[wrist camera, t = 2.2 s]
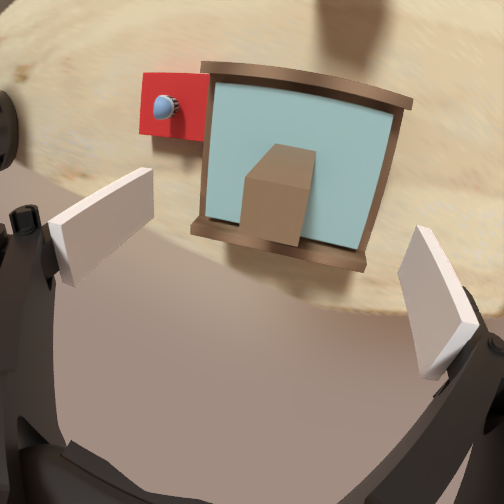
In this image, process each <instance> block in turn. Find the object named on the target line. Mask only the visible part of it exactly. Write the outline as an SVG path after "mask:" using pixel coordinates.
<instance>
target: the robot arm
mask: <svg viewBox="0 0 504 504" xmlns="http://www.w3.org/2000/svg"><path fill="white" fill-rule="evenodd" d="M17 144H18V125H17V118H16V113H15V109H14V106H13V103H12V101H11V99H10V98H9V96H8V95H7V94H6V93H5V92H4V91H1V90H0V171H2V170H4V169H6V168H8V167H9V166H10V165H11V164H12V162H13V160H14V158H15V154H16V150H17ZM9 217H10V221H11V226H12V230H13V235H9V234H7V232H6V228H5V225H4V224H2V223H0V504H212V503H208V502H205V501H202V500H199V499H191V498H182V497H175V496H168V495H161V494H155V493H150V492H146V491H144V490H143V489H141V488H140V487H138V486H137V485H136V484H134V483H133V482H132V481H130V480H129V479H128V478H127V477H125V476H124V475H123V474H122V473H121V472H119V471H118V470H117V469H116V468H115V467H113V466H112V465H111V464H110V463H109V462H108V461H106V460H104V459H102V458H101V457H99V456H97V455H95V454H94V453H92V452H90V451H88V450H87V449H85V448H83V447H82V446H80V445H78V444H77V443H75V442H73V441H72V440H71V441H70V443H69V444H68V446H66V443H65V440H64V438H63V436H62V434H61V431H60V429H59V426H58V421H57V414H56V403H55V390H54V372H53V318H54V300H55V287H56V281H55V277H54V274H56V273H57V272H58V271H60V274H61V278H62V281H63V283H66V284H68V285H70V286H72V287H75V288H76V287H77V286H78V285H79V284H80V283H81V282H82V281H83V280H84V279H85V278H86V277H87V276H88V275H89V274H90V273H91V272H93V271H94V269H96V268H97V267H98V266H99V265H100V264H101V263H102V262H103V261H104V260H105V259H107V258H108V257H109V256H110V255H111V254H112V253H113V252H114V251H115V250H117V249H118V248H119V247H120V246H121V245H122V244H123V243H125V241H127V240H128V239H129V238H130V237H131V236H133V235H134V234H135V233H136V232H137V231H138V230H140V229H141V228H142V227H143V226H144V225H145V224H147V223H148V222H149V221H150V220H151V219H153V218H154V200H153V169H149V168H142V167H141V168H139V169H137V170H135V171H133V172H131V173H129V174H127V175H125V176H123V177H122V178H120V179H118V180H116V181H114V182H112V183H111V184H109V185H107V186H105V187H103V188H102V189H100V190H98V191H96V192H95V193H93V194H91V195H90V196H88V197H86V198H84V199H83V200H81V201H80V202H78V203H76V204H75V205H73V206H71V207H70V208H68V209H67V210H65V211H63V212H62V213H60V214H59V215H57V216H56V217H54V218H53V219H51V220H49V221H48V223H46V224H45V225H43V226H41V221H40V216H39V211H38V207H37V206H36V205H25V206H22V207H19V208H17V209H15V210H14V211H12V212H11V213H10V214H9ZM398 276H399V280H400V284H401V287H402V291H403V295H404V299H405V303H406V307H407V311H408V316H409V320H410V325H411V329H412V334H413V338H414V344H415V349H416V354H417V359H418V366H419V371H420V378H421V379H427V380H436V381H437V380H439V379H440V377H441V376H442V375H443V374H444V373H445V371H446V370H447V372H448V377H449V379H448V380H447V381H446V382H445V383H444V385H443V386H442V387H441V388H440V389H439V390H438V392H436V394H435V395H434V396H433V397H434V399H433V401H432V402H431V403H430V404H429V406H428V407H427V409H426V410H425V411H424V412H423V414H422V415H421V416H420V418H419V419H418V420H417V422H416V423H415V424H414V425H413V427H412V428H411V429H410V430H409V431H408V433H407V434H406V435H405V436H404V437H403V439H402V440H401V441H400V442H399V443H398V444H397V446H396V447H395V448H394V449H393V450H392V451H391V452H390V453H389V455H387V456H386V458H385V459H384V460H383V461H382V462H381V463H380V464H379V465H378V466H377V467H376V468H375V469H374V470H373V471H372V472H371V473H370V474H369V475H368V476H367V477H366V478H365V479H364V480H363V481H362V482H361V483H360V484H359V485H358V486H356V487H355V488H354V489H353V490H352V491H351V492H350V493H349V494H348V495H347V496H345V497H344V498H343V499H342V500H341V501H340V502H338V503H337V504H435V503H436V502H437V500H438V499H439V498H440V496H441V495H442V493H443V492H444V490H445V489H446V488H447V486H448V485H449V483H450V482H451V480H452V478H453V477H454V475H455V474H456V472H457V470H458V469H459V467H460V465H461V464H462V462H463V460H464V458H465V457H466V455H467V453H468V451H469V450H470V448H471V446H472V444H473V447H472V450H471V454H470V458H469V461H468V464H467V467H466V471H465V474H464V477H463V480H462V482H461V485H460V488H459V491H458V493H457V496H456V499H455V501H454V504H504V341H503V340H502V339H501V338H500V337H499V336H497V335H495V334H494V333H490V332H488V329H487V327H486V325H485V323H484V320H483V318H482V316H481V313H480V312H479V309H478V307H477V305H476V303H475V301H474V299H473V297H472V295H471V294H470V293H469V291H468V290H467V289H466V288H465V287H464V286H462V285H461V283H460V282H459V280H458V278H457V276H456V274H455V272H454V270H453V268H452V266H451V264H450V262H449V261H448V259H447V257H446V255H445V253H444V252H443V250H442V248H441V246H440V245H439V243H438V241H437V239H436V238H435V236H434V234H433V233H432V231H431V229H429V228H425V227H422V226H419V225H416V228H415V231H414V234H413V236H412V239H411V241H410V244H409V247H408V249H407V252H406V254H405V256H404V259H403V261H402V264H401V266H400V268H399V271H398ZM473 442H474V443H473Z"/></svg>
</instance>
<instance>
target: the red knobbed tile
mask: <svg viewBox="0 0 504 504" xmlns="http://www.w3.org/2000/svg"><path fill="white" fill-rule="evenodd" d="M209 77H210V75H209V74H193V73H143V81H142V93H141V107H140V126H139V134H143V135H153V136H162V137H171V138H179V139H187V140H194V141H201V142H204V130H205V118H206V107H207V96H208V86H209Z"/></svg>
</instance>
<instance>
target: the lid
mask: <svg viewBox="0 0 504 504" xmlns="http://www.w3.org/2000/svg"><path fill="white" fill-rule="evenodd" d="M392 120H393V114H390V113H387V112H383V111H380V110H376V109H373V108H369V107H365V106H361V105H358V104H354V103H350V102H345V101H341V100H337V99H332V98H327V97H323V96H318V95H313V94H307V93H302V92H296V91H290V90H283V89H277V88H270V87H262V86H254V85H244V84H234V83H221V82H216V85H215V95H214V105H213V116H212V127H211V138H210V151H209V164H208V178H207V194H206V212H205V216H207V217H212V218H217V219H222V220H227V221H232V222H237V223H240V224H239V233H238V234H242V235H246V236H251V237H255V238H260V239H264V240H269V241H274V242H278V243H283V244H287V245H292V246H296V247H298V243H299V238H300V236H301V237H306V238H310V239H315V240H319V241H323V242H328V243H332V244H337V245H341V246H345V247H349V248H354V249H358V246H359V243H360V240H361V236H362V233H363V230H364V227H365V224H366V220H367V217H368V214H369V210H370V207H371V204H372V200H373V197H374V193H375V190H376V186H377V182H378V179H379V175H380V171H381V167H382V163H383V159H384V155H385V151H386V147H387V143H388V138H389V134H390V129H391V125H392Z"/></svg>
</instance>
